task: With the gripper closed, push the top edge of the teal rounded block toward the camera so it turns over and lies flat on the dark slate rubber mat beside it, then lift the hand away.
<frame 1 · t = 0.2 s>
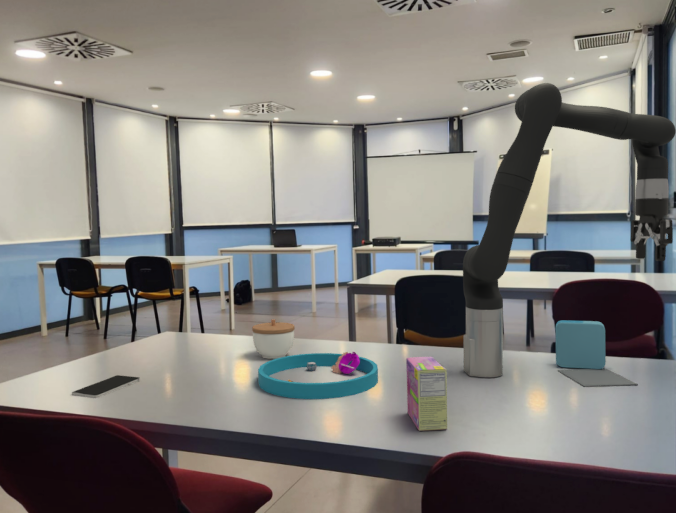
hand: (650, 259, 145), 29 cm above the table, tool pointing down, fingers open, 8 cm apart
smartphone: (107, 389, 137), on the table
lidded bowl: (274, 356, 166), on the table
teal ring: (318, 383, 140), on the table
slate mat: (595, 377, 138), on the table
box: (426, 422, 110), on the table
teal rounded block: (580, 367, 148), on the table, touching slate mat
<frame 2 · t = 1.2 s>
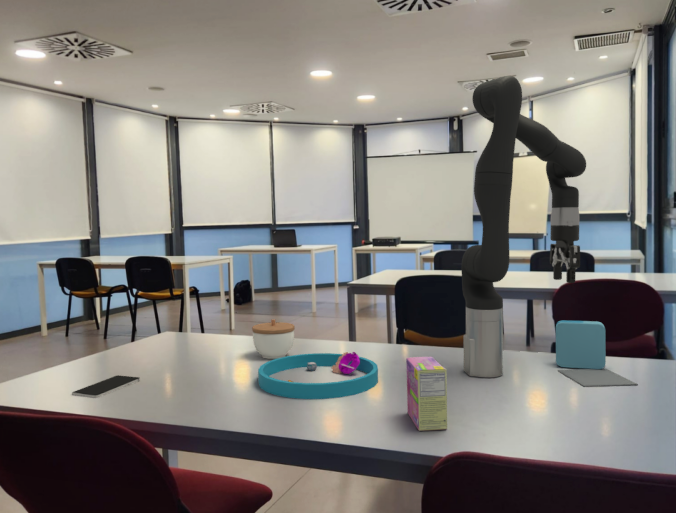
hand: (564, 281, 158), 22 cm above the table, tool pointing down, fingers open, 8 cm apart
nothing on the table moved.
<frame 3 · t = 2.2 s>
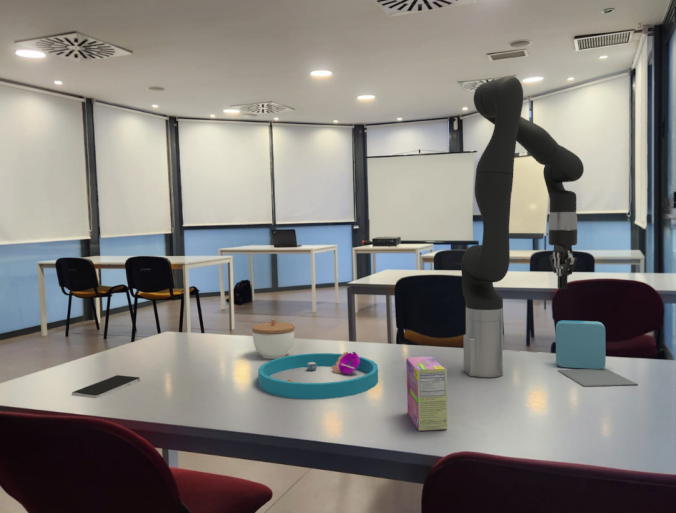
hand: (562, 289, 158), 20 cm above the table, tool pointing down, fingers closed
nothing on the table moved.
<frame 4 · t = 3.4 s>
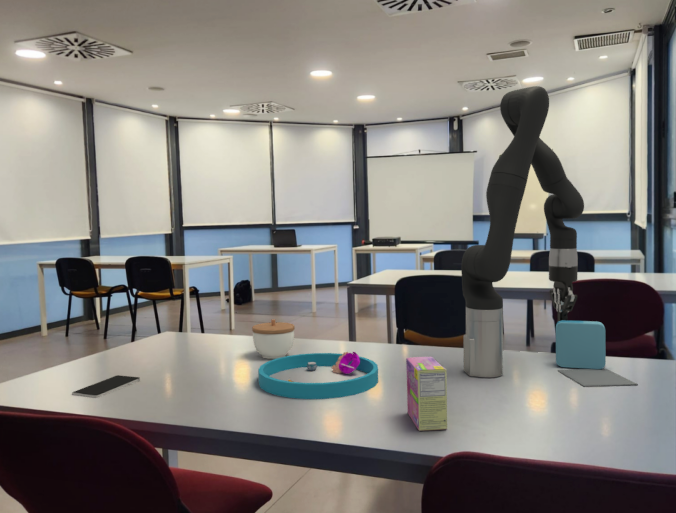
hand: (562, 324, 158), 9 cm above the table, tool pointing down, fingers closed
nothing on the table moved.
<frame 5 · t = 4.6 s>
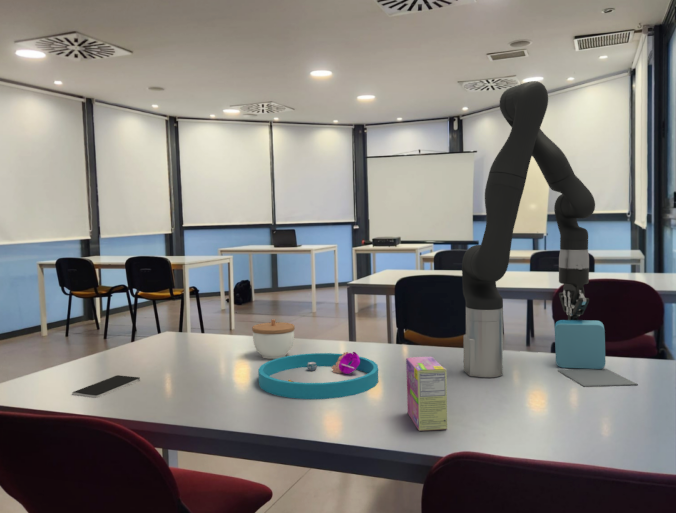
hand: (573, 329, 152), 10 cm above the table, tool pointing down, fingers closed
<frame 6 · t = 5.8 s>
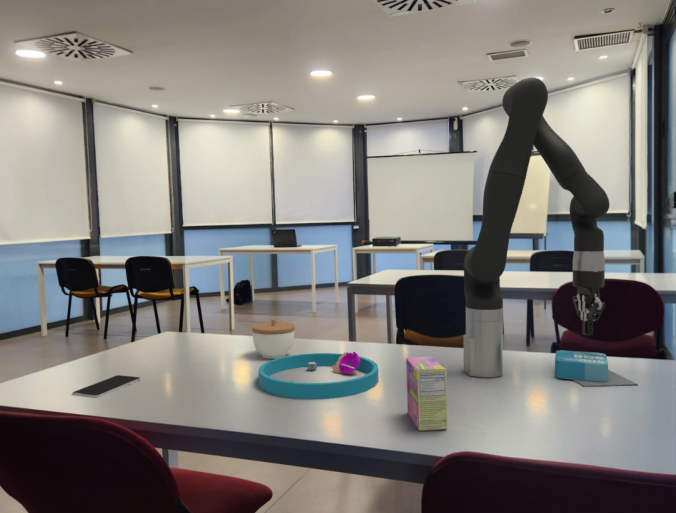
hand: (587, 335, 144), 10 cm above the table, tool pointing down, fingers closed
teal rounded block: (580, 359, 146), point 3 cm above the table, touching slate mat
everything else where it was.
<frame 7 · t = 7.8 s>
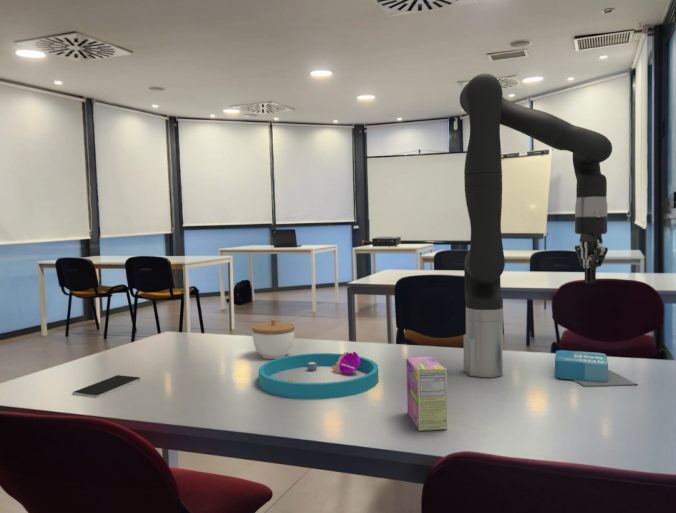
hand: (590, 282, 143), 23 cm above the table, tool pointing down, fingers closed
nothing on the table moved.
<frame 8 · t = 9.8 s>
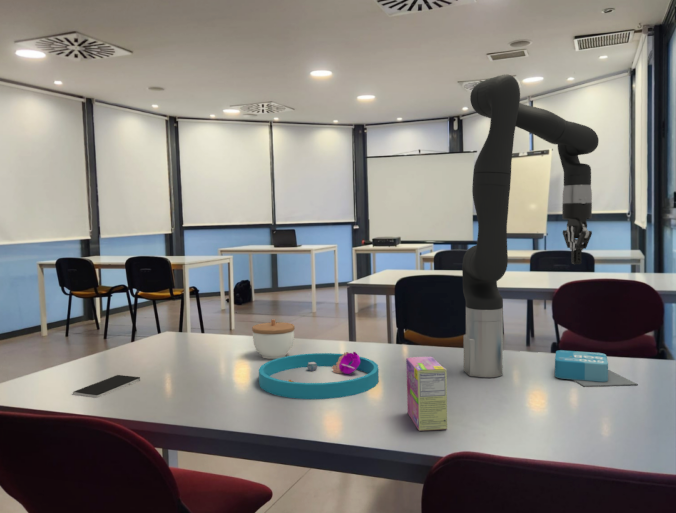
hand: (576, 263, 156), 27 cm above the table, tool pointing down, fingers closed
nothing on the table moved.
at the end: teal rounded block tilted 90°; teal rounded block touching slate mat; teal rounded block inside the target area (2.3 cm from its centre), point 2.6 cm above the table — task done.
